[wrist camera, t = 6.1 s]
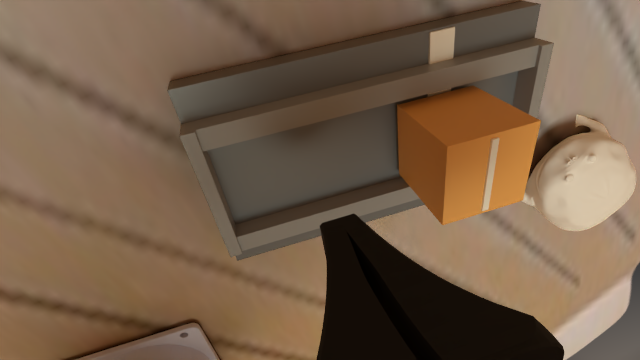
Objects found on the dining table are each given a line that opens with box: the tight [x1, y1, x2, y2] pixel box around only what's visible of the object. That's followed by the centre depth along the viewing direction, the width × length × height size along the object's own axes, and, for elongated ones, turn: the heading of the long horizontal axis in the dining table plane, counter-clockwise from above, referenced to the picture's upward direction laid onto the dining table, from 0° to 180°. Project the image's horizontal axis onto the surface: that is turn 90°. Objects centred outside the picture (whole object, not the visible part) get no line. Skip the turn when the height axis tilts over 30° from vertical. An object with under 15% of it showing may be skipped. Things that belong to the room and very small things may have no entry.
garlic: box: [522, 114, 636, 231], centre depth 23 cm, size 8×7×4 cm
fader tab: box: [397, 86, 541, 225], centre depth 17 cm, size 4×4×4 cm
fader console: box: [167, 1, 554, 261], centre depth 18 cm, size 17×10×2 cm, turn 98°
